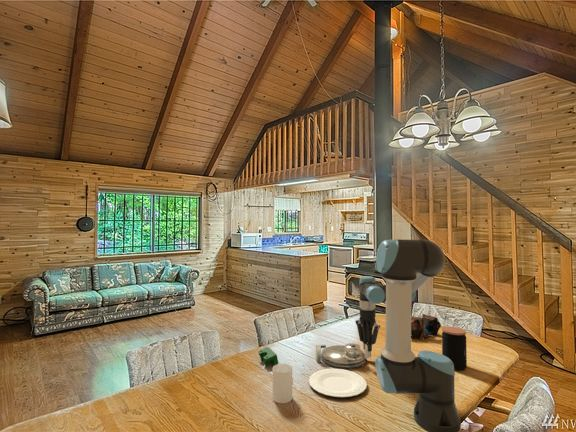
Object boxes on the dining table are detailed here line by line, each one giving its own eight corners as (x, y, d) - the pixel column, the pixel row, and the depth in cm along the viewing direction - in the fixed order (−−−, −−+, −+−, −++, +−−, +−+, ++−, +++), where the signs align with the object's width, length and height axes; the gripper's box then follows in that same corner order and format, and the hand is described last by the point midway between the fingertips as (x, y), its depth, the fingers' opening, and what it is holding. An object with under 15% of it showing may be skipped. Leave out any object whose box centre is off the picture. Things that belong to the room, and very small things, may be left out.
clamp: (262, 369, 164) (256, 351, 167) (273, 364, 167) (266, 346, 169) (269, 369, 154) (262, 350, 156) (280, 363, 156) (273, 345, 159)
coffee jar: (470, 372, 151) (469, 334, 151) (445, 370, 153) (445, 332, 154) (462, 362, 161) (461, 327, 162) (439, 361, 164) (439, 325, 164)
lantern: (429, 342, 207) (403, 347, 194) (416, 319, 217) (390, 322, 204) (447, 331, 197) (420, 335, 184) (432, 307, 207) (406, 310, 194)
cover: (354, 362, 155) (354, 351, 155) (339, 356, 162) (339, 345, 162) (366, 357, 161) (366, 345, 161) (350, 351, 168) (350, 340, 168)
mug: (284, 386, 138) (284, 358, 138) (296, 400, 127) (296, 370, 127) (266, 390, 134) (266, 361, 135) (276, 405, 123) (276, 373, 124)
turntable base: (345, 374, 148) (345, 357, 149) (309, 359, 165) (309, 343, 166) (374, 359, 165) (374, 344, 165) (339, 347, 182) (339, 333, 182)
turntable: (321, 363, 156) (321, 352, 157) (322, 346, 178) (322, 336, 178) (373, 366, 153) (373, 354, 153) (368, 349, 175) (368, 338, 175)
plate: (321, 405, 124) (321, 400, 124) (301, 376, 148) (301, 371, 148) (378, 396, 130) (378, 391, 130) (350, 369, 155) (350, 365, 155)
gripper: (383, 309, 153) (383, 359, 153) (360, 304, 163) (361, 351, 162) (374, 312, 148) (375, 364, 148) (351, 307, 158) (352, 355, 157)
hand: (367, 357), depth 155 cm, fingers closed
